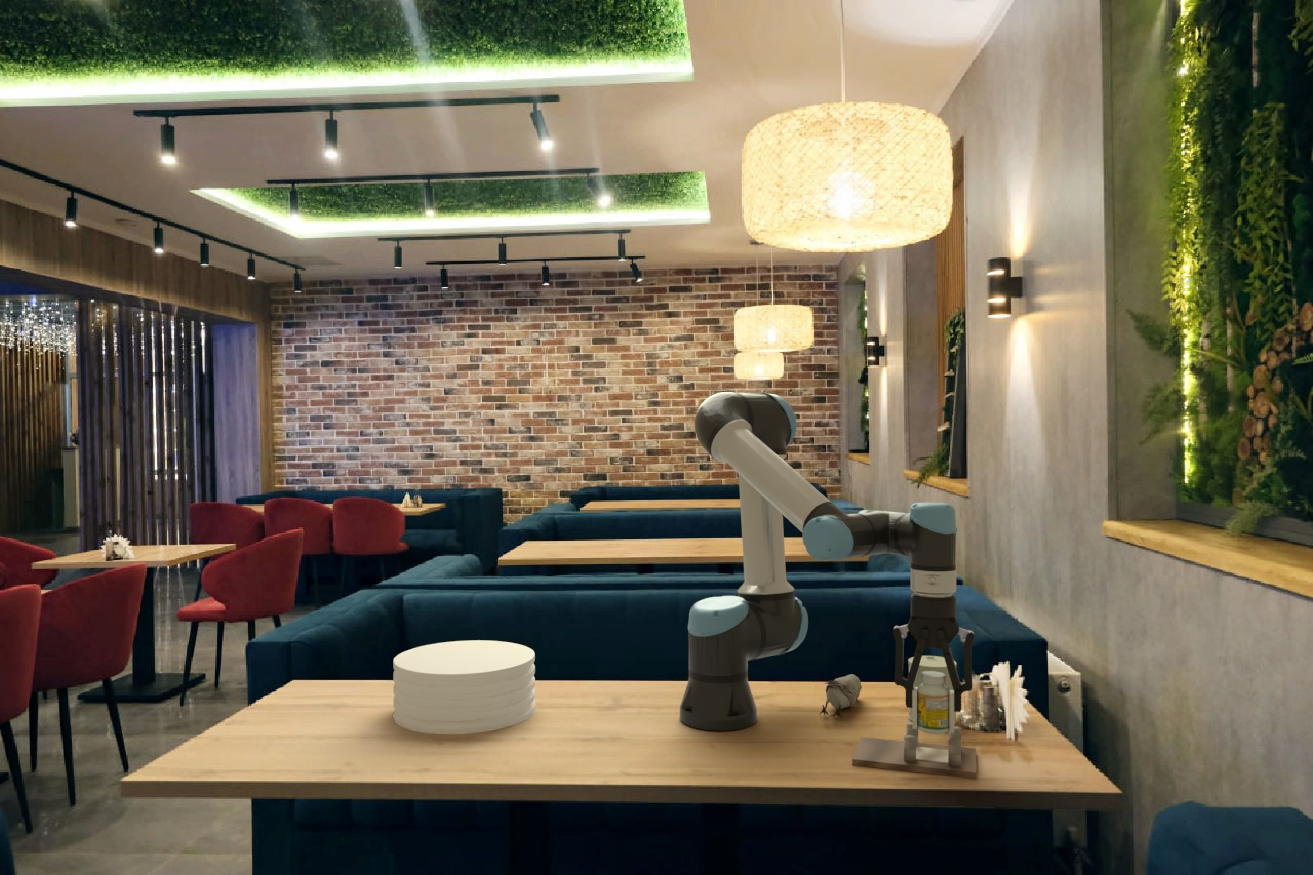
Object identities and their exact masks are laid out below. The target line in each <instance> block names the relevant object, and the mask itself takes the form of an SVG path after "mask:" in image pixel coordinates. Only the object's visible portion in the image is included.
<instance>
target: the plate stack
mask: <svg viewBox="0 0 1313 875" xmlns="http://www.w3.org/2000/svg"><path fill="white" fill-rule="evenodd" d="M535 655H536V654H535V651H534V650H533V649H532V648H530V647H528V646H526V645H523V644H519V643H514V642H508V641H501V640H500V641H499V640H485V639H484V640H480V639H477V640H473V639H472V640H455V641H445V642H436V643H431V644H430V643H429V644H425V645H420V646H416V647H414V648H411V649H408V650H404V651H402V652H401V653H398V654H397V655H396V656H395V657H394V658H393V662H392V663H393V664H392V665H393V670H394V671H393V674H392V675H393V676H392V677H393V683H394V684H393V695H394V697H393V708H394V709H393V720H394V722H395V724H397V725H398V726H400V727H402V728H404V729H407V730H410V731H413V732H414V731H415V732H419V733H424V734H435V735H436V734H437V735H466V734H475V733H483V732H484V733H485V732H490V731H496V730H500V729H503V728H504V729H505V728H509V727H512V726H513V725H517V724H520V723H521V722H523V721H526V720H528V719H529V718H530V717H531V716H532V715H533V714H534V713H535V711H536V702H535V698H536V691H535V686H536V678H535V676H534V675H535V673H536V666H535V664H534V662H535V660H536V656H535Z"/></svg>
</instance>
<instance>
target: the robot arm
mask: <svg viewBox="0 0 1313 875" xmlns="http://www.w3.org/2000/svg"><path fill="white" fill-rule="evenodd" d="M794 411H795V410H794V409H793V408H792V406H791V405H790V404H789V402H788V401H786V399H785V398H784V397H782V396H780V395H778V394H772V393H767V392H733V391H724V392H723V391H722V392H717V393H715V394H712V395H710V396H708V397H707V398H706V399H705V400H704V401H703V402H702V403H701V404H700V406H699V408H698V409H697V412H696V414H695V417H694V431H695V432H694V433H695V434H696V437H697V440H698V441H699V443H700V445H701V447H703V449H704V450H705V451H706V452H707V453H708V454H709V455H710V456H711V457H712V458H713V459H714V460H716V461H717V462H719V463H726V464H728V465H729V466H730V468H732V470H734V471H735V472H736V473H737V474H738V485H739V502H740V504H739V505H740V519H741V520H740V522H741V537H742V539H741V540H742V553H743V554H742V555H743V573H744V577H743V578H744V582H743V584H742V585H741V586H740V587H739V589H737V596H736V595H722V596H712V597H711V596H710V597H705V598H703V599H701V600H698V601H696V602H695V603H693V605H691V607H690V609H689V613H688V623H687V630H688V634H687V635H688V636H687V637H688V679H687V684H686V686H685V690H684V693H683V697H682V700H681V702H680V705H679V720H680V721H681V722H682V723H683V724H684V725H686V726H688V727H691V728H694V729H699V730H706V731H719V732H720V731H722V732H723V731H734V730H735V731H736V730H741V729H745V728H748V727H749V728H750V727H751V726H753V725H754V724H755V723H756V722H757V720H758V719H757V718H758V716H757V715H758V713H757V712H758V709H757V705H756V702H755V698H754V696H753V694H752V689H751V687H750V683H749V674H748V673H749V672H748V670H749V668H748V667H749V663H748V662H749V661H753V660H757V659H763V658H767V657H771V656H780V655H784V654H786V653H788V652H791V651H793V650H795V649H797V648H798V647H799V646H800V645H801V644H802V643H803V642H804V640H805V638H806V635H807V632H808V628H809V626H808V625H809V619H808V618H809V617H808V612H807V609H806V607H805V606H803V602H802V600H801V599H799V598H798V597H796V596H795V595H796V594H795V588H794V586H793V585H791V583H789V581H787V570H786V569H787V568H786V550H785V536H784V534H785V533H784V517H785V518H786V519H787V520H788V521H789V522H790V523H791V524H792V525H793V526H794V527H796V529H797V530H799V531H800V532H801V533H802V543H803V546H804V547H805V550H806V552H807V554H808V555H809V556H810V557H811V558H813V559H815V560H817V561H823V562H824V561H830V562H835V561H841V560H846V559H847V560H848V559H853V558H859V557H868V556H876V555H883V554H885V555H886V554H891V555H900V556H904V557H905V556H906V557H907V556H908V557H909V558H910V590H911V591H912V592H913V593H911V594H910V617H909V618H910V619H909V620H908V622H907V624H903V625H901V626H900V625H895V626H894V627H893V629H892V633H893V637H894V641H895V662H894V663H895V664H894V665H895V666H894V667H895V668H894V669H895V670H894V684H895V685H896V686H900V687H903V689H905V706H906V708H907V709H909V708H912V721H911V722H912V729H917V688H918V687H913V685H914V681H915V678H916V674H917V671H918V668H919V664H920V661H921V657H922V656H923V654H924V650H925V649H931V648H934V649H939V650H941V652H942V655H943V657H944V658H945V662H946V665H947V669H948V672H949V676H950V679H951V683H952V686H953V690H950V693H949V725H950V732H953V733H954V726H955V724H954V712H956V713H957V712H958V713H960V712H961V711H962V695H963V693H964V692H970V691H972V690H973V668H972V667H973V664H972V645H973V642H974V639H975V632H974V630H972V629H964V628H962V627H960V625H959V623H958V620H957V597H956V596H955V595H954V594H955V593H956V592H957V567H956V566H957V564H956V557H957V556H956V552H957V550H956V548H957V545H956V544H957V532H958V528H957V525H956V523H957V522H956V521H957V520H956V510H955V508H954V506H953V505H951V504H950V503H946V502H945V503H944V502H915V503H913V504H912V505H910V511H909V512H899V511H898V512H897V511H887V510H881V509H864V510H863V509H862V510H860V511H859V512H857V513H849V514H847V513H845V512H844V511H842V509H840V508H839V507H838V506H836V504H835V503H834V502H832V501H831V500H829V498H827V497H826V496H825V495H824V494H822V492H820V491H819V489H817V488H816V487H815V486H814V485H812V484H811V483H810V482H809V481H808V480H807V479H806V478H805V477H804V476H802V475H801V474H800V473H799V472H797V471H796V470H795V469H794V468H793V467H792V466H790V464H789V463H787V462H786V461H785V459H786V458H787V448H788V447H789V445H790V444H791V443H792V442H793V441H794V439H793V438H795V437H796V434H797V419H796V415H795V412H794ZM783 516H784V517H783ZM909 632H910V634H911V636H912V637H913V638H914V640H916V642H917V645H916V649H915V652H914V656H913V657H914V658H913V661H912V665H911V668H910V672H909V671H908V675H907V678H906V677H904V660H905V659H904V656H905V655H904V652H905V651H904V650H905V649H904V648H905V639H906V638H907V636H908V633H909ZM957 635H958V636H959V640H960V642H961V643H963V668H964V681H962V682H961V681H960V678H959V674H958V671H957V670H958V669H957V665H956V666H955V663H954V661H955V659H954V656H953V653H952V648H951V646H950V645H951V644H950V643H951V642H952V641H953V640H954V639H955V637H956V636H957Z"/></svg>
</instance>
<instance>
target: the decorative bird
mask: <svg viewBox="0 0 1313 875" xmlns="http://www.w3.org/2000/svg"><path fill="white" fill-rule="evenodd" d="M824 684H825V685H826V689H825V694H826V701H825V705H824V704H823V705H822V710H821V711H820V712H819V715H821V714H823V715H824V717H826V715H828V717H830V715H829V713H828V712H827V707H828V704H829V703H830V705H831V706H832V707H833V708H835V713H834V714H833V715H832V717H834V716H836V715H837V719H839V718H840V717H841V719H844V718H843V716H842V714H841V713H840V710H841V709H845V708H848V707H850V706H851V707H853V706H854V705H855V703H856V702H857V699H858V698H859V697H860V693H861V691H862V687H863V686H862V683H861V680H860V678H859V677H858V676H856V675H855V674H853V673H851V674H847V675H845V676H841V677H838V678H837V677H836V678H835V679H834V680H833V679H832V680H828V682H824Z"/></svg>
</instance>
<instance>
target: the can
mask: <svg viewBox="0 0 1313 875" xmlns="http://www.w3.org/2000/svg"><path fill="white" fill-rule="evenodd" d="M913 658H914V656H912V657H910V658H908V660H907V661H908V673H909V672H910V668H911V665H912V661H913ZM954 663H955V666H956V667H957V662H956V661H955V660H954ZM924 671H936V672H941V673H944V674H945V679H946V682H945V684H944V685H945V686H947V687H948V689H949V691H950V690H953V686H952V683H951V679H950V676H949V672H948V669H947V665H946V662H945V658H944V656H938V655H937V656H936V655H922V657H921V661H920V664H919V668H918V671H917V674H916V678H915V681H914V685H913V687H918V686H919V685H920V684H923V682H922V680H921V673H922V672H924ZM907 718H908V720H909V721H910V722H912V708H908V715H907ZM957 722H958V720H957V712H954V725H956V724H957Z"/></svg>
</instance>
